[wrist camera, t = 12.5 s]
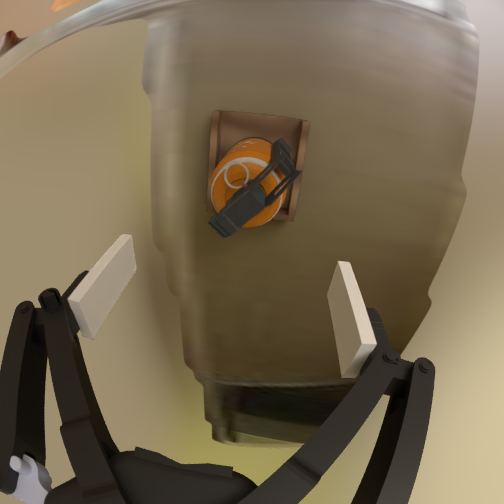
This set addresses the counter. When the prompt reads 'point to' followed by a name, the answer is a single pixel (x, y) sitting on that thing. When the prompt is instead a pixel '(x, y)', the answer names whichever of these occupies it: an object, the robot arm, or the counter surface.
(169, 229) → the counter surface
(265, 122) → the cradle
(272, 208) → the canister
